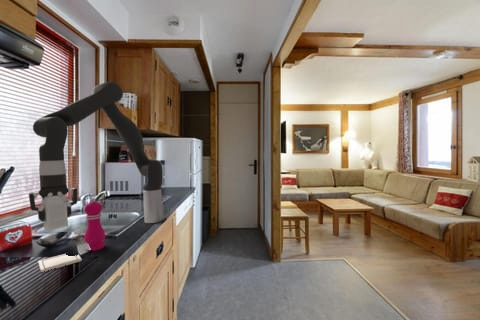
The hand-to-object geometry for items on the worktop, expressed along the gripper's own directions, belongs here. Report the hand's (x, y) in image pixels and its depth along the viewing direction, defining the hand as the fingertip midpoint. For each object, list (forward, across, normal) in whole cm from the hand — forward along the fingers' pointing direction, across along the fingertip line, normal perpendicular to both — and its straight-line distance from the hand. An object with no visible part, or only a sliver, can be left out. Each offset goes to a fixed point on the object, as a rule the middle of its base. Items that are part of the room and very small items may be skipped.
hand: (55, 218), depth 87 cm
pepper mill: (+14, -12, +1) cm, 19 cm away
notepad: (+14, 0, +5) cm, 15 cm away
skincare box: (+4, 0, 0) cm, 4 cm away
